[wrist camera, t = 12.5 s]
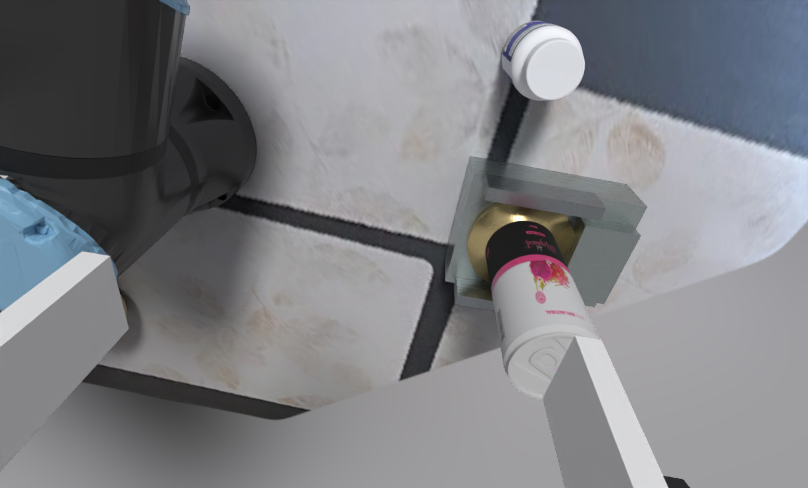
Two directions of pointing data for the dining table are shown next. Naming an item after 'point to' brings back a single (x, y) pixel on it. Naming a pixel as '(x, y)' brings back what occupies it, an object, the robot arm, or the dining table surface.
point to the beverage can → (533, 304)
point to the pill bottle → (543, 61)
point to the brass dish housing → (551, 207)
